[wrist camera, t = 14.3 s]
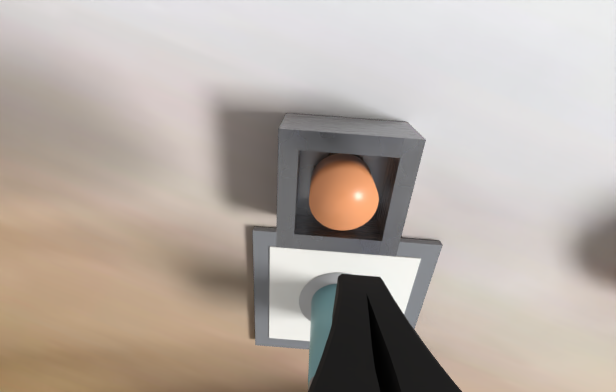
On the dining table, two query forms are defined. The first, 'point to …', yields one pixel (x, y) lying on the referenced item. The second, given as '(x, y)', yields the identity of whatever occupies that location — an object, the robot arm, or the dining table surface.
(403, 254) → the board
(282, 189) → the button housing
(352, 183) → the button
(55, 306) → the dining table surface
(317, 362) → the marker
